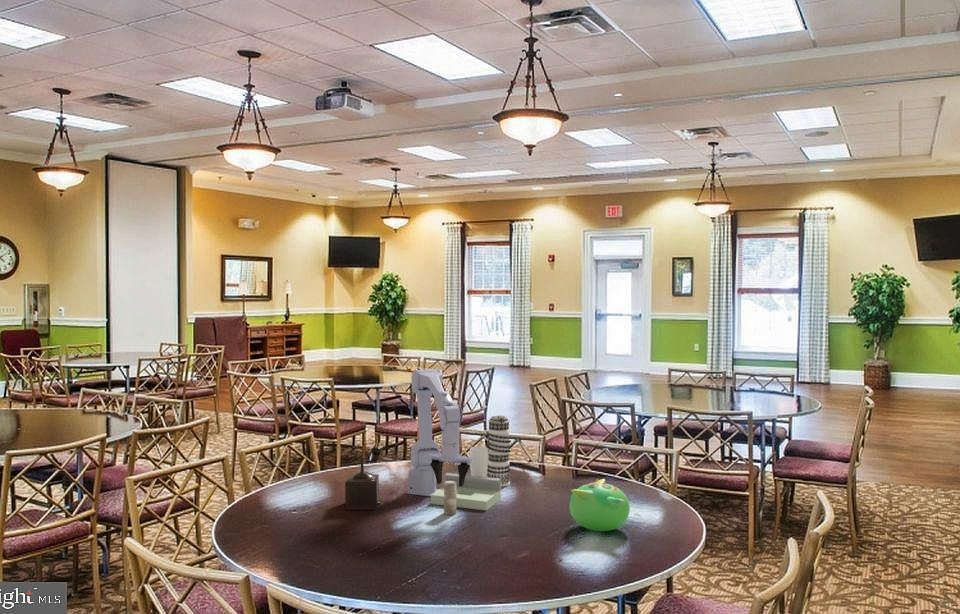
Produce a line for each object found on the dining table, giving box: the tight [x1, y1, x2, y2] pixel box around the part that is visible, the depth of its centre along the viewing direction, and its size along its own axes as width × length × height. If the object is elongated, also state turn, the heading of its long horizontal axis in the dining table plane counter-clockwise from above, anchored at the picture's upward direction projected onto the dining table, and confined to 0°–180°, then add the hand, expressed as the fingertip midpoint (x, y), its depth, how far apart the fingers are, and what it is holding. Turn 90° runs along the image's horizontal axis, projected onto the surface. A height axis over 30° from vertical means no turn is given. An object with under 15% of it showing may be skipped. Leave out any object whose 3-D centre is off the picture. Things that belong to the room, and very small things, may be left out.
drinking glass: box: [469, 445, 489, 477], centre depth 263 cm, size 7×7×15 cm
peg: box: [443, 480, 457, 516], centre depth 236 cm, size 4×4×10 cm
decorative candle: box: [486, 415, 512, 488], centre depth 271 cm, size 9×9×25 cm
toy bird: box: [569, 478, 630, 532], centre depth 221 cm, size 18×17×15 cm
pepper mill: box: [344, 446, 383, 512], centre depth 246 cm, size 16×11×18 cm
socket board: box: [430, 472, 502, 511], centre depth 249 cm, size 20×14×7 cm
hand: (450, 484), depth 236 cm, fingers open, 7 cm apart
